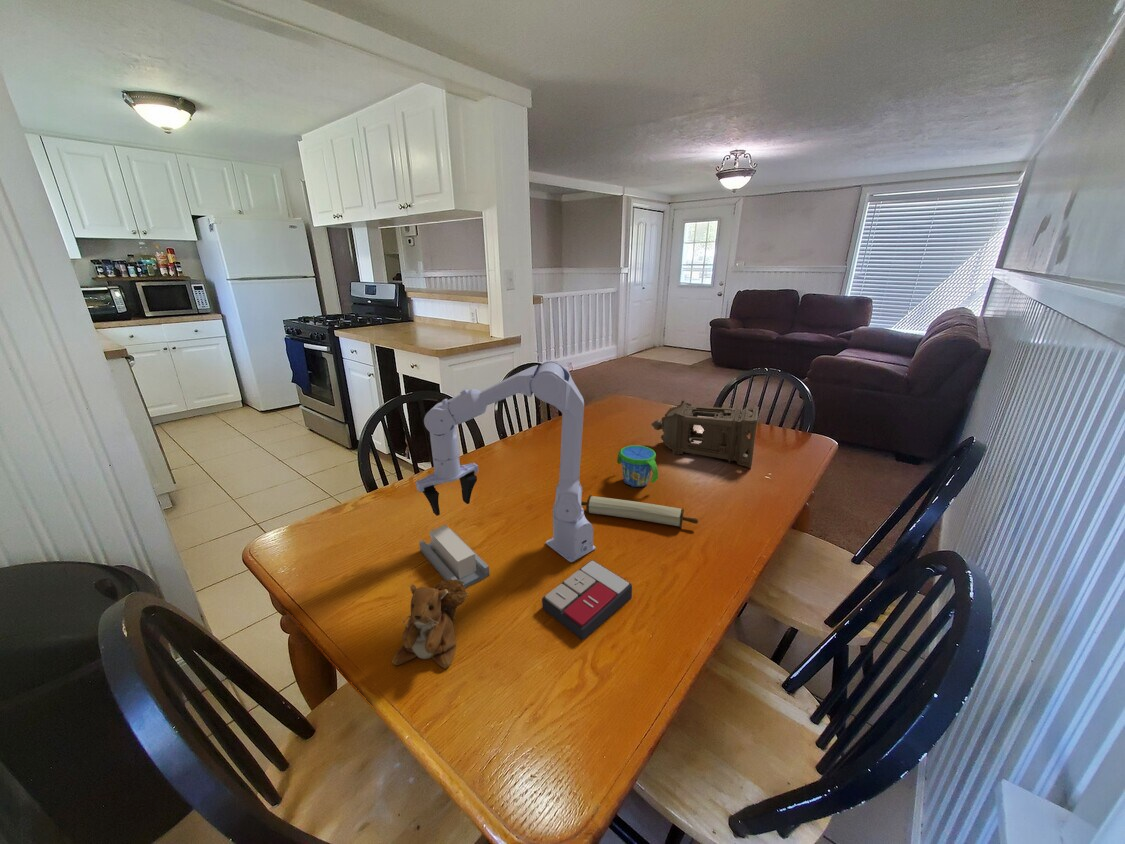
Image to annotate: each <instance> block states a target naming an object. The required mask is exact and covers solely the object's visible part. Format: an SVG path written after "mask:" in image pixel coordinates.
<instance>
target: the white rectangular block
mask: <svg viewBox="0 0 1125 844" xmlns="http://www.w3.org/2000/svg"><path fill="white" fill-rule="evenodd" d="M450 529H451V528H450V527H449V526H448V525H447V524H444V525H442V526H439V527H437V528H435V529H432V530H430V531H429V536H430V543H431V545H432V548H433V549H434V550H435V552H436V553H437V554H438V555H439V556H440V557H441V558H442V560H443V561H444V562H445V563H446V564H447V565H448V566H449V568H450V569H451V570H452V571H453V572H454V573H455V574H456V576H457V577H458V578H459V579H461V578H463V577H465V576H467V575H469V574H471V573H473V572H475V571H477V570H476V560H475V553H476V552H475V551H474V550H473V549H472V548H471V547H470V546H469V545H468V544H467V543H466V542H465V541H464V540H463V539H462V538H461V537H460V536H459V537H460V538H461V539H462V540H463V541H464V542H465V543H466V544H467V545H468V546H469V547H470V548H471V549H472V550H473V551H474V552H475V553H474V552H473V551H472V550H471V549H470V548H469V547H468V546H467V545H466V544H465V543H464V542H463V541H462V540H461V539H460V538H459V537H457V536H456V535H455V534H454V533H453V532H452V531H451V530H450Z"/></svg>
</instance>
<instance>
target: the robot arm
mask: <svg viewBox="0 0 1125 844" xmlns="http://www.w3.org/2000/svg"><path fill="white" fill-rule="evenodd" d="M517 394H521V395H524V396H526V397H529V398H531V397H532V395H533V394H534V397H536V399H538V400H540V401H542V402H544V403H547V404H550V405H552V406H554V407H555V408H556V409H557V410H558V411H560V413H561V414H562V415H561V416H562V418H561V419H562V420H561V434H560V435H561V437H560V440H561V441H560V462H559V477H558V479H559V482H558V483H557V485H556V488H555V499H554V503H553V506H552V530H553V531H552V532H553V533H552V538H550V539H547V540H546V541H545V544H546V545H547V546H548V547H550V549H552V550H553V551H555V552H556V553H558V554H559V555H560V556H562V558H564V559H565V560H566V561H568V562H569V563H573V562H576V561H577V560H578V559H580V558H582V557H583V556H585V555H587V554H589V553H590V552H593V551H594V550H596V549H597V547H596V546H595V545H594V526H593V524H592V523H591V522H590V521H589V520H588V519H587V518H586V516H585V509H584V508H583V505H581V501H582V495H583V487H582V484H581V483H580V473H581V471H580V470H581V457H582V455H581V454H582V442H583V430H584V429H583V425H584V412H585V410H584V409H585V400H584V397H583V395H582V393H581V392H580V390H579V389H578V386H577V385H576V384H575V382H574V379H573V378H572V375H571V373H570V371H569V370H568V369H567V368H565V367H564V366H563V365H562V364H560V363H559V362H557V361H553V360H549V361H548V360H546V361H545V362H543V363H541V364H540V365H538V364H537V365H533V366H531V367H528V368H526V369H524V370H520V372H517V373H515V374H514V375H511V376H509V377H507V378H505V379H503V380H501V381H499V382H497V383H496V384H494V385H491V386H490V387H488V388H485V389H483V390H478V389H476V388H472V389H470V390H469V389H468V388H464V389H461V391H460V394H458V395H457V396H454V397H452V398H449V399H448V398H444V399H442V401H440V402H438V403H436V404H435V405H434V406H433V407H431V408H430V410H428V411H427V412H426V413H425V415H424V418H423V423H424V427H425V429H426V430H427V431H428V432H429V439H430V446H431V455H432V462H433V471H434V472H432V473H431V474H429V475H427V476H425V477H424V478H421V479H419V480H416V481H415V487H416V490H417V491H418V492H419V493H423V494H424V496H425V497H426V499H427V501H428V502H429V506H430V507H431V510H432V513H433V514H434V515H435V516H436V517H437V516H440V515H441V512H440V507H439V495H440V493H439V492H438V491H437V489H436V488H435V487H436V486H439V485H441V484H446V483H451V482H455V481H457V480H459V482H460V487H461V496H462V502H464V503H465V504H466V505H469V504H470V501H471V497H472V493H473V490H474V486H475V485H476V483H477V482H478V476H477V475H476V474H478V473H479V465H478V464H476V463H475V462H472V463H467V464H462V465H461V463H460V462H461V461H460V454H459V453H460V452H459V443H458V435H457V427H456V425H457V426H458V425H460V424H463V423H466V422H467V421H470V420H472V419H474V418H476V417H478V416H481V415H483V414H485V413H486V410H487V408H488V406H489V405H492V404H494V403H498V402H500V401H502V400H504V399H508V398H509V397H512V396H515V395H517Z"/></svg>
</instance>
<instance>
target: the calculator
mask: <svg viewBox="0 0 1125 844" xmlns="http://www.w3.org/2000/svg"><path fill="white" fill-rule="evenodd" d="M632 597H633V584H632V583H631V582H629V581H627V580H626V579H625V578H623V577H622V576H619V575H618V574H617V573H614V572H613V571H611V570H610V569H608V568H606V567H604V566H603V565H602V564H600V563H598V562H597V561H595V560H593V559H591V560H590V561H588V562H586V564H585V565H583V566H582V567H580V568H579V569H578V570H577V571H575V572H574V573H572V574H571V575H570V576H568V577H567V578H566V579H565V580H564V581H562V582H561V583H559V584H558V585H557V586H555V587H554V588H553V589H552V590H550V591H549V592H548V593H547V594H545V595H544V596H543V597H542V598H541V604H542V610H543V611H545V612H546V613H547V614H548V615H550V616H551V617H552V618H553V619H554V620H556V621H557V622H558V623H560V624H561V625H563V626H564V627H565V628H566V629H567V630H569V631H570V632H571V633H572V634H573V635H575V636H576V637H577V638H578V639H579V640H581V641H584V640H585V639H586V638H588V637H589V636H591V635H592V633H594V632H595V631H596V630H597V629H599V628H600V627H601V625H603V624H604V623H605V622H606V621H607V620H608V619H609V618H611V616H612V615H613V614H614V613H616V611H618V610H619V609H621V608H622V607H623V606H625V605H626V604H627V603H628V602H629V601H630V600H631V599H632Z"/></svg>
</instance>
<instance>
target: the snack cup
mask: <svg viewBox="0 0 1125 844" xmlns="http://www.w3.org/2000/svg"><path fill="white" fill-rule="evenodd" d="M656 457H657V454H656V452H655V450H654V449H652V448H650V447H648V446H644V445H636V444H633V445H632V444H631V445H626V446H624V447H622V448H620V449H619V451H618V454H617V457H616V462H617V464H620V465H621V466H622V467H621V468H622V478H623V480H622V481H623V482H624V483H625V484H626V485H628V486H631V487H632V488H635V487H636V488H641V487H646V485H648V483H649V480H650V478H651V480H650V483H655V482H656V481H658V479H659V472H658V470H659V469H658V465H657V462H656ZM651 472H652V473H651ZM651 474H652V476H651Z"/></svg>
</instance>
